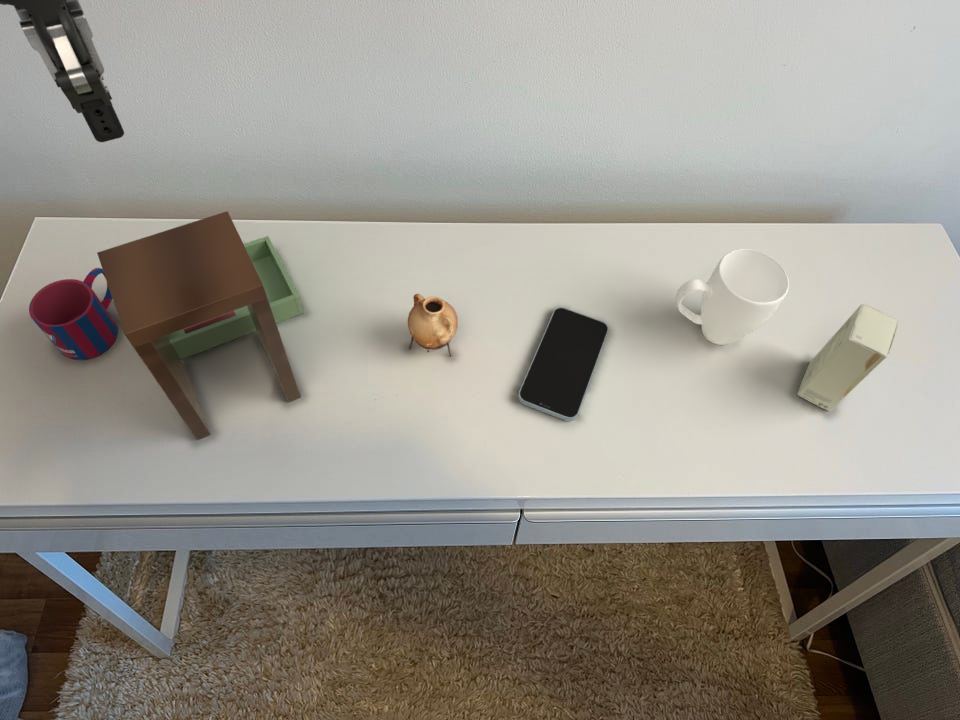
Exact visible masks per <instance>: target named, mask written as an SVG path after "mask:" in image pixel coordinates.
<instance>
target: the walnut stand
mask: <svg viewBox="0 0 960 720" xmlns="http://www.w3.org/2000/svg"><path fill="white" fill-rule="evenodd" d="M244 244H245V243H244V242H243V240H242V238H241V236H240V233H239V231H238V230H237V227H236V225H235V224H234V221H233V219H232V216H231V215H230V213H229V211H228V210H227V211H224V212H223V211H222V212H220V213H217V214H213V215H211V216H210V215H209V216H208V217H205V218H201V219H198V220H194V221H192V222H188V223H186V224H183V225H182V224H181V225H179V226H176V227H173V228H170V229H167V230H164V231H161V232H158V233H154V234H151V235H148V236H145V237H140V238H138V239H135V240H132V241H129V242H126V243H123V244H120V245H119V244H118V245H116V246H113V247H110V248H106V249H104V250H100V251H98V252H96V254H97V258H98V260H99V264H100V266H101V269H103V272H104V275H105V276H104V275H103V276H104V279H105V281H106V285H107V284H108V287H109V290H110V293H111V296H112V302H113V305H114V307H115V311H116V313H117V316H118V319H119V323H120V326H121V329H122V331H123V334H124V336H125V337H126V339H127V341H128V342H129V343H130V344H131V346H132V347H133V349H134V351H135V352H136V354H137V355H138V356H139V358H140V359H141V360H142V362H143V363H144V365H145V367H146V368H147V369H148V371H149V372H150V374H151V375H152V376H153V378H154V379H155V381H156V382H157V384H158V386H159V387H160V388H161V389H162V391H163V392H164V394H165V396H166V397H167V398H168V400H169V401H170V403H171V405H172V406H173V407H174V409H175V410H176V412H177V413H178V414H179V416H180V417H181V419H182V421H183V422H184V423H185V424H186V426H187V427H188V429H189V430H190V432H191V433H192V435H193V436H194V437H195V439H196V440H197V441H200V440H202V439H204V438H207V437H209V436H211V432H210V428H209V427H208V423H207V420H206V418H205V415H204V413H203V410H202V407H201V405H200V402H199V399H198V397H197V394H196V392H195V390H194V387H193V384H192V381H191V379H190V376H189V374H188V371H187V369H186V366H185V363H184V362H183V361H182V359H180V357H179V356H178V354H177V352H176V351H175V349H174V347H173V346H172V344H171V342H170V341H169V339H168V337H167V336H166V335H168V334H171V333H173V332H176V331H179V330H182V329H184V328H187V327H190V326H193V325H195V324H198V323H201V322H204V321H206V320H209V319H212V318H215V317H217V316H220V315H223V314H226V313H228V312H231V311H234V310H237V309H239V308H242V307H245V306H247V307H248V310H249V312H250V315H251V318H252V320H253V323H254V325H255V328H256V331H255V332H256V333H257V336H258V338H259V340H260V342H261V345H262V347H263V349H264V351H265V354H266V356H267V359H268V360H269V362H270V364H271V367H272V369H273V371H274V373H275V376H276V378H277V381H278V382H279V384H280V387H281V389H282V391H283V394H284V395H285V397H286V400H287V402H288V403H291V402H293V401H295V400H298V399H300V398H301V397H302V396H301V393H300V390H299V387H298V384H297V381H296V378H295V376H294V373H293V370H292V366H291V363H290V360H289V357H288V355H287V352H286V351H287V350H286V349H285V345H284V342H283V340H282V336H281V334H280V330H279V328H278V325H277V323H276V322H275V319H274V316H273V313H272V310H271V307H270V304H269V301H268V298H267V295H266V292H265V289H264V286H263V284H262V282H261V280H260V277H259V275H258V273H257V271H256V269H255V267H254V265H253V263H252V261H251V259H250V257H249V254H248V252H247V250H246V248H245V246H244Z"/></svg>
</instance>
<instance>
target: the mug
mask: <svg viewBox="0 0 960 720" xmlns="http://www.w3.org/2000/svg"><path fill="white" fill-rule="evenodd" d="M712 271H713V272H712V273H711V274H710V276H709V279H708V281H707V282H706V281H704V280H702V279H698V278H694V279H690V280H688V281H686V282H684V283H682V284H681V285H680V286H679V288H678V289H677V290H676V293H675V296H674V302H675V306H676V308H677V310H678V311H679V312H680V313H681V315H683V316H684V317H685V318H686V319H688V320H690V321H691V322H693V324H695V325H701V332H702V334H703V336H704V337H705V339H706V340H707V341H709V342H710V343H713V344H715V345H719V346H726V345H729V344H731V343H733V342H736V341H738V340H740V339H742V338H744V337H746V336H748V335H750V334H752V333H754V332H755V331H757V330H759V329H760V328H762V326H764V325H765V324H766V323H767V322H768V320H769V319H771V317H772V316H773V315H774V313H775V312H776V310H777V309H778V308H779V307H780V305H781V304H782V302H783V301H784V299H785V298H786V296H787V294H788V291H789V289H790V280H789V277H788V274H787V272H786V270H785V268H784V267H783V266H782V264H780V263H779V261H778V260H776V259H775V258H774V257H772V256H770V255H769V254H766V253H765V252H762V251H759V250H756V249H752V248H740V249H735V250H731V251H729V252H727V253H726V254H725V255H724V256H722V257H721V259H720V260H719V261H718V263H717V264H716V266H715V268H714V269H713V270H712ZM695 291H702V296H701V305H700V314H697V313H695V312H693V311H691V310H690V309H689V308H687V307H686V306H685V305H683V303H682V301H683V299H684V298H685V297H686V296H688V295H689V294H690V293H692V292H695Z"/></svg>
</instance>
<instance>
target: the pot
mask: <svg viewBox="0 0 960 720" xmlns="http://www.w3.org/2000/svg"><path fill="white" fill-rule="evenodd" d="M412 298H413V307H412V308H411V309H410V311H409V312H408V316H407V328H408V331H409V333H410V336H411V338H410V342H409V345H408V350H411V349H412V346H413V343H414V341H415V343H416V344H417V345H419V346H420V347H422V348H423V349H427V351H426V352H427V353H430V350H432V351H435V350H440V349H443V348H444V347H446V346H447V351H448V354H449V357H450V358H451V357H453V354H452V353H453V352H452V350H451V349H452V348H451V345H450V342H451V340H452V339H453V338H454V336H455V335H456V333H457V330H458V324H459V320H458V319H459V318H458V315H457V314H458V313H457V312H456V310H455V308H454V307H453V306H452V305H451V304H450V303H449V302H447V300H443V299H441V298H440V297H438V296H429V297H426V298H425V297H424V296H423V295H422V294H420V293H415V294H414V295H413V297H412Z"/></svg>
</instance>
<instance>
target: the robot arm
mask: <svg viewBox="0 0 960 720" xmlns="http://www.w3.org/2000/svg"><path fill="white" fill-rule="evenodd" d="M79 1H80V0H0V5H3V6H6V5H7V6H8V5H9V6H12V7H14V9H15V11H16V13H17V15H18V18H19V21H18V23H19V25H20V28H21V30H22V31H23V33H24V36H25V37H26V39H27V42H28V44H29V45H30V47H31V48H32V49H33V51H36V52H38V54H39V56H40V58H41V59H42V61H43V63H44V65H45V66H46V68H47V71H48V72H49V74H50V75H51V78H52V79H53V81H54V82H55V85H56V86H57V88H60V90H61V91H62V93H63V94H64V96H65V97H66V99H67V100H68V102H69V103H70V105H71V108H72V109H73V110H75V111H76V114H81V115H82V116H83V118H84V120H85V122H86V124H87V126H88V128H89V130H90V132H91V134H92V136H93V138H94V140H95V141H97V142H98V143H106V142H109V141H113V140H117V139H121V138H122V137H124V135H125V131H124V128H123V126H122V123H121V121H120V119H119V116H118V114H117V112H116V110H115V108H114V106H113V103H112V101H111V100H113V97H112V95H111V92H110V90H109V88H108V86H107V85H105V82H104V81H105V78H104V75H103V74H104V73H105V67H104V65H103V63H102V60H101V58H100V56H99V54H98V51H97V48H96V46H95V44H94V42H93V38H94V37H93V36H94V34H93V31H92V29H91V27H90V25H89V22H88V20H87V18H86V15H85V13H84V10H83V8H82V6H81V4H80V2H79Z"/></svg>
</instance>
